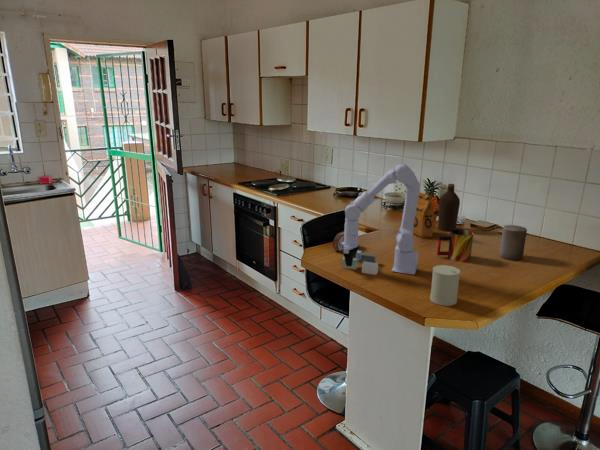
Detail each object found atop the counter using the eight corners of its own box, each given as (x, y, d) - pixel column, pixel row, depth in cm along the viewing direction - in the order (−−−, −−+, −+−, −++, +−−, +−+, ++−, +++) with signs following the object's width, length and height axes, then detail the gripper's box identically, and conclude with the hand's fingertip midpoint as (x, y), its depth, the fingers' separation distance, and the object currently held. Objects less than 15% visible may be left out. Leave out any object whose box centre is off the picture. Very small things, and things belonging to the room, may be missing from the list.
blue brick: (361, 259, 193) (361, 250, 192) (359, 261, 191) (359, 253, 189) (348, 257, 195) (348, 249, 194) (346, 259, 193) (346, 251, 192)
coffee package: (419, 239, 221) (423, 196, 215) (406, 232, 233) (409, 191, 226) (435, 237, 224) (440, 195, 218) (422, 230, 236) (425, 190, 229)
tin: (349, 244, 213) (350, 227, 211) (355, 245, 211) (356, 228, 209) (332, 252, 202) (332, 234, 199) (337, 253, 200) (338, 236, 198)
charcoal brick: (375, 263, 189) (376, 254, 188) (374, 265, 186) (374, 256, 185) (362, 261, 191) (362, 252, 190) (360, 263, 188) (361, 254, 187)
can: (450, 308, 148) (454, 275, 145) (425, 300, 154) (428, 268, 151) (461, 299, 155) (464, 268, 152) (436, 292, 161) (439, 261, 158)
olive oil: (455, 233, 232) (460, 186, 225) (434, 230, 236) (439, 184, 229) (458, 227, 241) (463, 183, 234) (438, 225, 245) (442, 181, 238)
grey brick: (377, 272, 179) (378, 263, 178) (376, 275, 176) (376, 265, 175) (363, 270, 181) (363, 261, 180) (361, 272, 178) (362, 263, 177)
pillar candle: (527, 259, 194) (532, 227, 190) (507, 261, 192) (512, 228, 188) (513, 252, 203) (518, 221, 199) (494, 253, 201) (498, 222, 197)
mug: (435, 257, 196) (438, 231, 193) (459, 252, 202) (462, 228, 199) (451, 264, 188) (454, 237, 185) (475, 259, 193) (478, 234, 190)
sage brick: (357, 267, 184) (358, 258, 183) (355, 269, 181) (356, 260, 180) (343, 265, 186) (344, 256, 185) (341, 267, 183) (342, 258, 182)
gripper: (346, 227, 187) (345, 257, 191) (336, 237, 174) (335, 268, 178) (362, 229, 185) (361, 259, 189) (353, 239, 172) (352, 271, 176)
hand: (349, 264), depth 183 cm, fingers closed on sage brick, 3 cm apart
